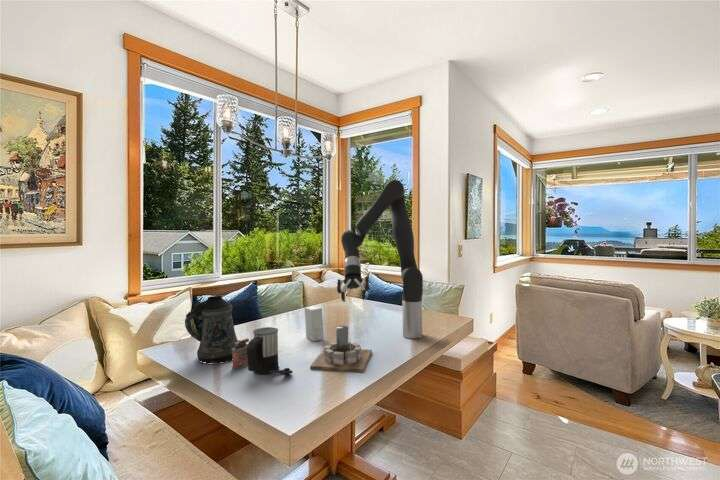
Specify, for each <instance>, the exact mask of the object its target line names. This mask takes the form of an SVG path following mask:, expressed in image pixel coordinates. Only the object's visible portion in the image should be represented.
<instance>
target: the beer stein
mask: <svg viewBox="0 0 720 480" xmlns="http://www.w3.org/2000/svg"><path fill="white" fill-rule="evenodd" d="M233 308H234V306H233V305H232V304H231V303H230V302H229V301H227V300H225V299H224V298H223V296H221V295H212V296H208V297H207V299H206V300H204V301H200V302H197V303H196V304H195V305H194V309H193V310H190V311H189V312H187V314H185V319H184V326H185V330H186V331H187V332H188V334H189V335H190V336H191V337H192V338H193V339H195V340H196V341H198V342H199V346H198V349H197V352H196V355H197V358H198V359H199V360H200V361H202V362H206V363H220V362H224V363H227V362H226V361H228V362H230V360H231V361H233V360H232V359H233V358H232V349H233V348H235V343H236V342H238V338H237V335H236V331H235V325H234V320H233V315H232V312H233ZM197 317H202V322H201V329H200V330H201V331H200V333H199V332H197V330H195V328H194V327H193V325H192V324H193V323H192V320H193V319H194V318H197ZM199 360H198V361H199ZM220 364H221V363H220Z"/></svg>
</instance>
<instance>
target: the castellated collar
mask: <svg viewBox="0 0 720 480" xmlns="http://www.w3.org/2000/svg"><path fill="white" fill-rule="evenodd" d="M372 350H373V349H362V347H361V345H360V344H359V343H356V342H351V341H348V351H347V352H345V359H344V352H337V342H336V341H335V342H331V343H329V344H326V345H325V346H324V348H323V349H322V351H321V353H320V354H319V355H318V356H317V357H316V358H315V359H314V361H313V362H312V363H311V364H310V365H309V370H316V371H317V370H320V371H335V372H350V373H351V372H352V373H364V371H365V369H366V367H367V365H368V362H369V360H370V358H371V355H372V353H373V352H372Z"/></svg>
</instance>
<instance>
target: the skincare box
mask: <svg viewBox="0 0 720 480" xmlns="http://www.w3.org/2000/svg"><path fill="white" fill-rule="evenodd" d="M323 318H324V317H323V308H322V307H319V306H316V305H312V306H307V307H304V322H305V337H306V338H307V339H309V340H311V341H312V342H316V341H323V340H324V339H325V336H324V320H323Z"/></svg>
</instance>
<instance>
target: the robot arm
mask: <svg viewBox="0 0 720 480" xmlns="http://www.w3.org/2000/svg"><path fill="white" fill-rule="evenodd" d="M405 199H406V198H405V187H404V184H403V183H402V182H401V181H400V180H397V179H392V180H389V181H388V182H386V184H385V185H384V188H383V189H382V191H381V193H380V195H378V197H377V198H376V200H375V201H374V203H373V204H372V205H371V206H370V207H369V208H368V209H367V210H366V211H365V212H364V213H363V215H362V216H361V217H360V218H359V219H358V221H356V223H355V228H356V229H357V232H356V233H355V232H354V231H353V230H351V229H347V230H344V231H343V233H342V234H341V239H340V240H341V245H342V249H343V251H344V279H340V278H338V279H337V281H336V282H337V284H336V285H337V287H336V291H337V294H340V298H341V302H342V301H343V303H345V302H346V292H348V291H349V290H353V289H354V290H355V289H356V290H357V289H359V290H360V291H361V296H362V301H365V300H366V297H367V295H366V292H370V291H371V290H370V282H369V277H368V276H365V277H364V278H362V265H361V257H360V256H361V255H360V250H359V247H361V246H362V244H363V243H364V240H365V238H366V236H367V234H368V233H369V231H370V230H371V228H373V226H374V225H375V224H376V223H377V222H378V221H379V219H380V217H381V216H383V213H384V212H385V211H386V209H388V207H390V212H391V227H392V235H393V240H394V242H395V243H394V244H395V247H396V251H397V254H398V258H399V262H400V263H399V265H400V274H401V275H400V276H401V280H402V289H403V290H402V296H401V297H402V301H401V302H402V304H401V305H402V307H401V308H402V336H403V337H404V338H406V339H423V307H422V306H423V302H422V300H423V295H424V294H423V291H424V288H423V286H424V285H423V283H424V282H423V281H424V279H423V273H422V271H421V270H420V269H418V266H417V262H416V257H415V237H414V232H413V227H412V223H411V219H410V217H409V214H408V210H407V207H406V200H405ZM362 283H364V284H365V287H364V285H363V284H362ZM343 284H344V286H343V287H342V285H343Z"/></svg>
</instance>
